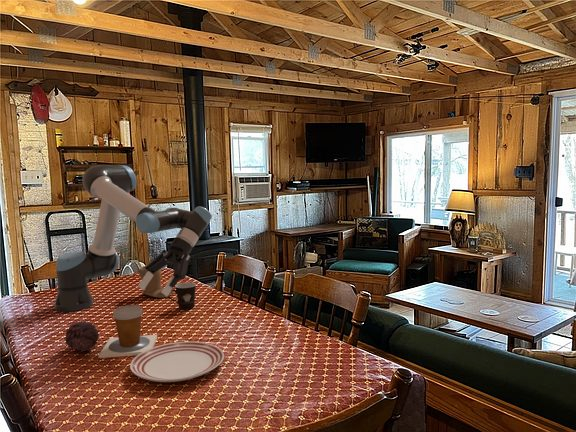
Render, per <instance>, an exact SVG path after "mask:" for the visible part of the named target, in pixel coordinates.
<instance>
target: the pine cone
mask: <svg viewBox="0 0 576 432" xmlns="http://www.w3.org/2000/svg"><path fill="white" fill-rule="evenodd" d="M99 336H100V334H99V331H98V329H97V327H96V326H95V325H94V324H93V323H91V322H90V321H76V322H75V323H71V324H69V327H68V329H67V330H66V331H65V338H64V339H65V344H66V345H67V347H68V348H70V349H76V350H78V351H84V352H85V351H88V350H91V349H92V348H94V347H95V346H96V345H97V343H98V340H99V338H100V337H99Z"/></svg>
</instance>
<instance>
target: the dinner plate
mask: <svg viewBox="0 0 576 432" xmlns="http://www.w3.org/2000/svg"><path fill="white" fill-rule="evenodd" d="M224 358H225V354H224V351H223V349H222V348H220V347H218V346H216V345H214V344H211V343H208V342H207V343H206V342H202V341H177V342H169V343H165V344H160V345H157V346H154V347H153V348H150V349H148V350H146V351H144V352H142V353H140V354H139V355H135V357H134V358H132V360H131V361H130V363H129V368H130V371H131V373H133V374H134V375H135V376H137V377H139V378H141V379H143V380H146V381H152V382H157V383H174V382H175V383H176V382H182V381H183V382H184V381H188V380H192V379H194V378H198V377H200V376H201V377H202V376H203V375H206V374H208V373H210V372H211V371H213V370H214V369H216V368H217V367H218V366H219V365H220V364H221V363H223V360H224Z"/></svg>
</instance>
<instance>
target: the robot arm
mask: <svg viewBox="0 0 576 432" xmlns="http://www.w3.org/2000/svg"><path fill="white" fill-rule="evenodd" d="M82 186H83V188H84V189H85V191H86V192H87V193H88V194H89V195H91V196H92V197H93V198H94V199H95V198H96V199H101V202H100V207H99V213H98V218H97V223H96V228H95V232H94V238H93V243H92V244H90V245H88V250H87V253H86V252H84V251H74V252H73V251H72V252H68V253H65V254H63V255H60V256H58V257H57V258H56V262H55V264H56V265H55V271H56V278H57V294H56V298H55V302H54V310H55V311H57V312H60V313H61V312H62V313H63V312H75V311H76V312H77V311H80V310H85V309H88V308H90V307H92V306H93V304H94V299H93V296H92V293H91V292H90V289H89V288H88V280H92V279H94V278H95V279H96V278H99V277H100V278H101V277H104V276H107V275H110V274H113V273H114V272H115V271H116V270H117V269H118V267H119V264H120V258H119V255H118V253H117V251H116V248H115V247H114V244H115V239H116V235H117V234H116V233H117V230H118V226H119V221H120V216H121V213H122V214H123V215H124V216H126V217H128V218H129V219H130V220H132V221H133V222H135V226H136V228H137V229H138V231H139V232H140V233H141V234H154V233H158V232H159V233H160V232H164V231H169V230H174V229H180V230H179V232H178V233H177V234H176V237H175V238H174V239H173V240H172V242H171V244H170V249H169V251H167V250H166V249H163V250H162V251H161V253H159V254H158V255H157V256H156V257H155V258H154V259H153V260H152V261H151V262H149V263H148V264H146V265H147V266H146V265H145V266H146V267H145V269H146V270H147V272H146V274H145V275H144V277H143V279H140V280H141V281H140V282H139V283H138V285H137V287H138V288H139V289H141V290H142V291H144V290H145V288H146V286H147V285H148V283H149V282H150V280H151V279H152V277H153V276H154V273H155V272H156V271H158V270H159V269H163V268H164V267H166V266H169V265H173V274H172V276H170V278H169V279H168V281H167V282H166V284H165V285H164V287H163V288H164V289H163V290H162V292H161V293H163V294H164V295H165V296H168V295H169V293H170V292H171V290H172V289H173V290H174V288H176V287H175V286H176V285H177V284H178V282H179V281H181V280H182V281H183V280H185V278H186V275H187V271H188V266H189V262H190V260H191V258H192V257H191V256H190V253H191V252H192V250H193V248H194V247H195V245H196V244H197V242H198V241H199V238H201V236H202V234H203V233H204V231H205V230H206V228H207V227H208V226H209V224H210V222H211V220H212V218H213V217H212V214H211V212H210V211H209V210H208V209H207V208H205V207H203V206H196V207H195V208H194V209H193V211H191V210H186V209H183V208H178V207H167V208H166V209H165V210H160V211H159V210H158V211H157V210H155V209H153V208H152V207H150V206H148V205H146V204H145V203H144V202H142V201H140V200H139V199H137V198H136V197H134V196H133V195H132V194H131V193H129V192H132V191H134V190H135V188H136V186H137V176H136V174H135V172H134V170H133V169H132V168H131V167H130V166H128V165H123V164H122V165H121V164H114V165H113V164H112V165H111V164H110V165H109V164H105V165H104V164H97V165H93V166H90V167H89V168H87V169H86V171H85V172H84V173H83V176H82ZM149 267H150V268H149ZM152 270H153V271H152ZM169 296H170V295H169Z"/></svg>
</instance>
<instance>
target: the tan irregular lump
mask: <svg viewBox="0 0 576 432" xmlns="http://www.w3.org/2000/svg"><path fill="white" fill-rule="evenodd" d="M147 265H148V264H146V265H143V266H141V267H140V268H138V274H139V278H140V280H142V279H143V277H144V275H145V274H146V272H147V270H146V269H145V267H146V266H147ZM149 268H150V267H149ZM161 269H162V268H161ZM161 269H159V270H158V271H156V272H155V273H154V276H153V277H152V279H151V280H150V282H149V283H148V285H147V286H146V288H145V289H144V290H142V294H144V295H147V296H149V297H154V298H159V299H160V298H162V299H163V298H168V297H167V296H165V295H164V294H163V293H161V292H162V290H163V289H164V287H163V286H162V270H161ZM152 271H153V270H152ZM174 293H175V292H174V291H171V292H170V293H169V295H168V296H169V297H170V296H171V295H173V294H174Z"/></svg>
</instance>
